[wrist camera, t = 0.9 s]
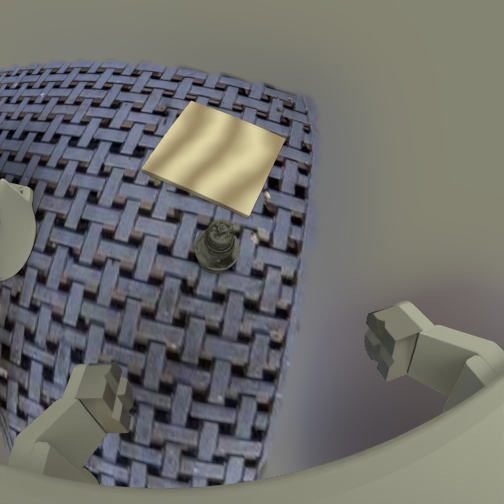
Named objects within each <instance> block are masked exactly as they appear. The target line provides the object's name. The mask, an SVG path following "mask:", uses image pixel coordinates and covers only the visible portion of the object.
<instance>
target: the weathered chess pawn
mask: <svg viewBox="0 0 504 504" xmlns="http://www.w3.org/2000/svg"><path fill="white" fill-rule="evenodd" d="M234 234H235V231H234V227H233V225H232V224H231V223H230V222H229V221H227V220H224V219H218V220H215V221H214V222H212V223H211V225H210V226H209V228H208V229H206V230H204V231H203V232H202V233H201V234H200V235H199V236H198V238H197V240H196V243H195V254H196V257H197V259H198V262H199V264H200V266H201V267H202V268H203V269H204V270H206V271H207V272H210V273H217V274H218V273H222V272H224V271H226V270H227V269H229V268H230V267H231V266H232V265H233V264H234V263H235V262H236V260H237V259H238V256H239V253H240V245H239V241H238V239H237V238H236V236H235V235H234Z"/></svg>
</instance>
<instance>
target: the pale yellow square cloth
mask: <svg viewBox="0 0 504 504" xmlns="http://www.w3.org/2000/svg"><path fill="white" fill-rule="evenodd" d="M284 141H285V139H284V138H282V137H280V136H278V135H276V134H273V133H271V132H269V131H267V130H264V129H262V128H260V127H257V126H255V125H253V124H250V123H248V122H246V121H243V120H241V119H238V118H236V117H233V116H231V115H228V114H226V113H223V112H220V111H218V110H215V109H212V108H210V107H207V106H204V105H201V104H199V103H196V102H193V101H191V102H190V103H189V105H188V106H187V107H186V108H185V110H184V111H183V112H182V114H181V115H180V116H179V117H178V119H177V120H176V121H175V123H174V124H173V125H172V127H171V128H170V129H169V131H168V132H167V133H166V135H165V136H164V137H163V139H162V140H161V142H160V143H159V144H158V146H157V147H156V149H155V150H154V151H153V153H152V154H151V156H150V157H149V159H148V160H147V162H146V163H145V165H144V166H143V168H142V171H143V173H145V174H147V175H150V176H152V177H154V178H157V179H159V180H161V181H164V182H166V183H168V184H171V185H173V186H175V187H178V188H180V189H182V190H184V191H187V192H189V193H191V194H194V195H196V196H198V197H200V198H203V199H205V200H207V201H209V202H212V203H214V204H216V205H218V206H221V207H223V208H225V209H227V210H229V211H232V212H234V213H236V214H238V215H240V216H243V217H245V218H247V219H248V218H249V215H250V213H251V211H252V209H253V207H254V205H255V203H256V200H257V198H258V196H259V194H260V192H261V190H262V188H263V185H264V183H265V181H266V179H267V177H268V175H269V173H270V170H271V168H272V166H273V164H274V162H275V160H276V158H277V156H278V154H279V151H280V149H281V147H282V145H283V143H284Z"/></svg>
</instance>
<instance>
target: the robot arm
mask: <svg viewBox="0 0 504 504" xmlns="http://www.w3.org/2000/svg"><path fill="white" fill-rule="evenodd" d="M22 192H23V193H22ZM32 201H33V191H32V189H30V188H29V187H26V186H22V185H17V184H13V183H8V182H7V181H6V180H5V179H1V180H0V281H1V280H6V279H8V278H10V277H12V276H14V275H15V274H16V273H17V272H18V271H19V270H20V269H21V268H22V267H23V265H24V264H25V262H26V261H27V259H28V257H29V255H30V252H31V250H32V247H33V244H34V239H35V232H36V222H35V216H34V212H33V208H32ZM366 324H367V325H368V327H369V329H368V330H367V332H366V333H365V339H364V343H365V348H366V351H367V354H368V355H369V357H370V359H371V360H373V361H376V362H378V366H377V369H378V371H379V372H380V373H381V375H382V376H383V378H384V379H385V381H386V382H387V381H389V380H392V379H395V378H397V377H400V376H402V375H405V374H408V375H409V376H411V377H412V378H414V379H416V380H418V381H420V382H422V383H424V384H426V385H427V386H429V387H431V388H433V389H435V390H437V391H439V392H440V393H442V394H444V395H446V396H448V397H449V398H448V400H447V402H446V404H445V406H444V408H443V414H441V415H439V416H437V417H436V418H434V419H432V420H430V421H428V422H426V423H425V424H423V425H421V426H419V427H417V428H415V429H413V430H411V431H409V432H406V433H404V434H402V435H400V436H398V437H396V438H394V439H391V440H389V441H387V442H384V443H382V444H380V445H377V446H375V447H372V448H370V449H367V450H365V451H362V452H359V453H357V454H354V455H351V456H348V457H345V458H342V459H339V460H336V461H333V462H330V463H327V464H323V465H320V466H316V467H313V468H309V469H305V470H302V471H298V472H294V473H289V474H285V475H281V476H276V477H271V478H266V479H260V480H255V481H248V482H242V483H235V484H227V485H218V486H207V487H192V488H131V487H117V486H107V485H98V484H91V480H90V479H89V478H88V477H87V476H85V475H84V474H83V473H82V472H80V470H81V469H82V467H83V466H84V465H85V463H86V462H87V460H88V459H89V458H90V456H91V455H92V454H93V452H94V451H95V450H96V448H97V447H98V445H99V444H100V443H101V441H102V440H103V439H104V437H105V436H106V435H107V434H106V433H129V426H130V420H131V416H130V415H129V413H128V411H129V410H130V409H131V408H132V406H133V400H134V399H133V391H132V388H131V385H130V383H129V382H128V380H127V379H125V378H124V377H122V376H121V374H122V369H121V368H120V366H119V365H118V363H115V362H111V363H91V364H78V365H76V366H75V367H74V369H73V372H72V374H71V377H70V379H69V382H68V384H67V387H66V389H65V392H64V395H63V397H62V399H58V400H57V401H55V402H54V403H53V404H52V405H51V406H50V407H49V408H48V409H46V410H45V411H44V412H43V413H42V414H41V415H40V416H39V417H37V418H36V419H35V420H34V421H33V422H32V423H31V424H30V425H29V426H27V427H26V428H25V429H24V430H23V431H22V432H21V433H20V434H19V435H17V437H16V440H15V443H14V446H13V449H12V452H11V455H10V458H9V461H8V464H5V463H2V462H0V504H504V351H503V350H502V349H501V348H500V347H499V346H498V345H497V344H496V343H495V342H492V341H489V340H486V339H482V338H479V337H476V336H473V335H469V334H466V333H462V332H459V331H456V330H453V329H450V328H447V327H444V326H440V325H437V326H434V325H433V324H432V323H431V322H430V321H429V320H428V319H427V318H426V317H425V316H424V315H423V314H422V313H421V312H420V311H419V310H418V309H417V308H416V307H415V306H414V305H413V304H412V303H411V302H409V301H404V302H401V303H399V304H396V305H394V306H390V307H388V308H384V309H381V310H378V311H375V312H371V313H369V314H368V316H367V321H366Z"/></svg>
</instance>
